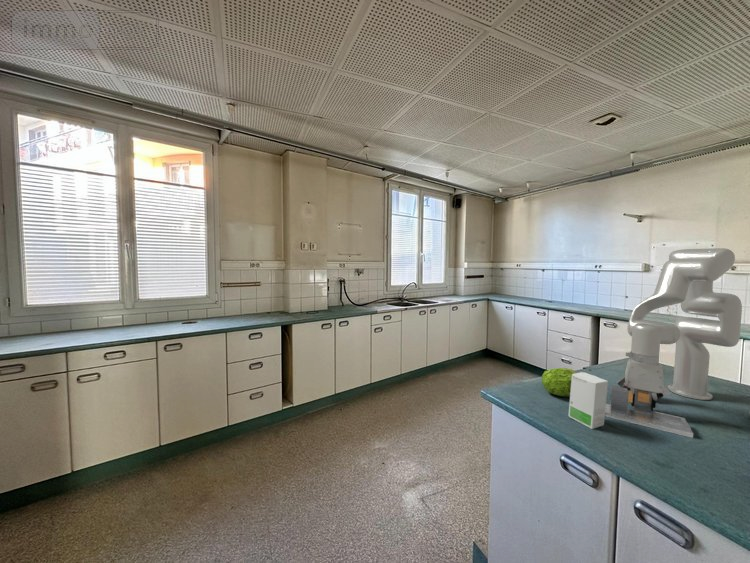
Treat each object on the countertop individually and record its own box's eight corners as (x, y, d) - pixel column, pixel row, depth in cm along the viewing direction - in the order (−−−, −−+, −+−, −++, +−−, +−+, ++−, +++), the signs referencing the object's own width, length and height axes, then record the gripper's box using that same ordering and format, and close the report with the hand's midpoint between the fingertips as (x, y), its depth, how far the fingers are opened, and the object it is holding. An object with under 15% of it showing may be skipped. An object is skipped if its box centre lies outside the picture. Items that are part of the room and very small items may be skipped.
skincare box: (567, 417, 102) (569, 373, 101) (580, 413, 104) (582, 371, 103) (593, 430, 94) (595, 382, 93) (606, 425, 96) (608, 379, 95)
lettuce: (602, 379, 122) (575, 355, 131) (577, 390, 108) (549, 362, 117) (581, 395, 128) (557, 372, 137) (555, 407, 115) (530, 380, 123)
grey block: (632, 406, 110) (633, 385, 109) (648, 409, 107) (649, 388, 106) (634, 412, 105) (635, 390, 105) (651, 416, 102) (652, 394, 102)
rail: (601, 406, 109) (603, 382, 109) (686, 426, 96) (688, 398, 96) (602, 415, 103) (603, 389, 102) (692, 437, 90) (695, 408, 89)
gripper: (615, 356, 107) (612, 404, 108) (680, 366, 97) (676, 418, 98) (613, 351, 113) (611, 397, 114) (675, 360, 103) (671, 409, 104)
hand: (641, 406), depth 106 cm, fingers closed on grey block, 4 cm apart
